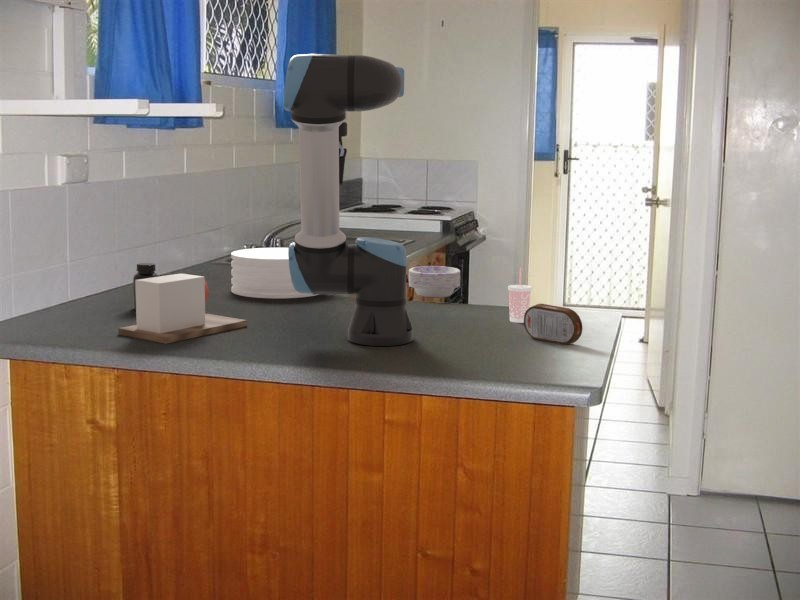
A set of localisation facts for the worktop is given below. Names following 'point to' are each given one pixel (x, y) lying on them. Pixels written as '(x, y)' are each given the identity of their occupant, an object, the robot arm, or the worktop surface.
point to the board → (186, 330)
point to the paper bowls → (434, 280)
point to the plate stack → (263, 274)
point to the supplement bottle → (143, 276)
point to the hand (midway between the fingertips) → (332, 211)
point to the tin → (553, 324)
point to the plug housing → (170, 302)
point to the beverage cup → (518, 300)
